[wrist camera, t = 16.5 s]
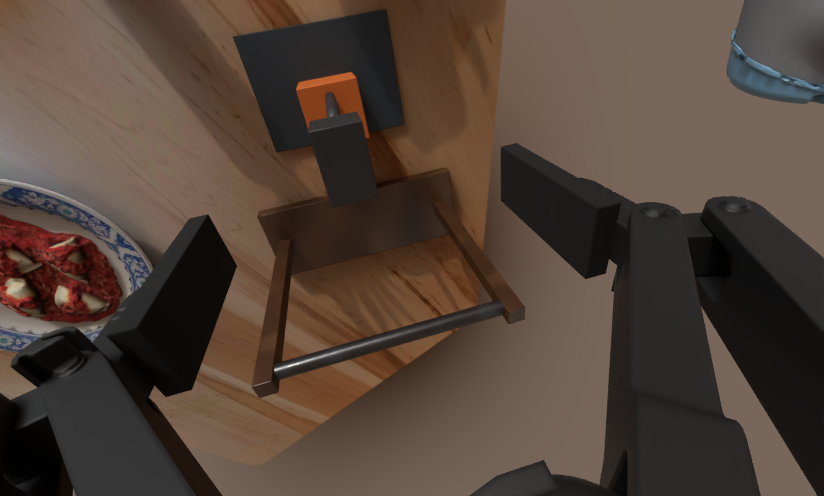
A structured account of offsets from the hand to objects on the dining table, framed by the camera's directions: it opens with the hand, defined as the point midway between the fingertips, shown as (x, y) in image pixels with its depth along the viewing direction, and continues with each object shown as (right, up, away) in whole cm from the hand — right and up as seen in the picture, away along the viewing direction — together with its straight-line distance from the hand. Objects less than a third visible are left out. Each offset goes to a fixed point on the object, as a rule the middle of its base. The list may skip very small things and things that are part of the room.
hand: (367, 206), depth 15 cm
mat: (-8, +17, +23) cm, 30 cm away
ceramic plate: (-44, -5, +27) cm, 52 cm away
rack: (-5, +2, +33) cm, 34 cm away
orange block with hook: (-7, +15, +24) cm, 29 cm away
